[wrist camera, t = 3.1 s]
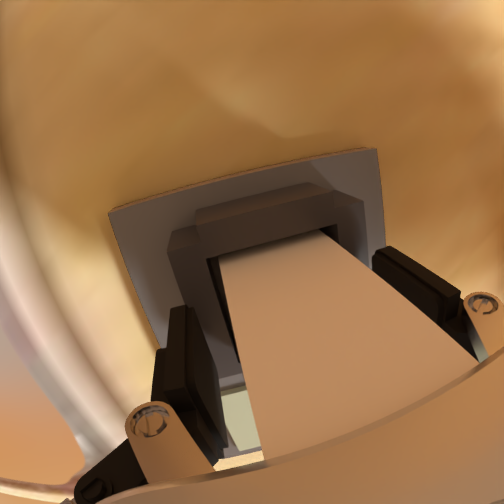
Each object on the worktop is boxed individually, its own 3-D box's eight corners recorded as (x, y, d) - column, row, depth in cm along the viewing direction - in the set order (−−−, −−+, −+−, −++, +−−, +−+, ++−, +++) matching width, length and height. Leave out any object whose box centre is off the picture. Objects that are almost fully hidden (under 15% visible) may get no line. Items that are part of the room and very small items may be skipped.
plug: (305, 219, 13) (480, 363, 4) (317, 298, 15) (436, 464, 6) (215, 243, 13) (264, 461, 4) (237, 321, 14) (294, 524, 5)
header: (365, 147, 14) (409, 152, 10) (374, 400, 20) (394, 431, 17) (113, 208, 13) (88, 230, 9) (220, 448, 19) (226, 486, 16)
